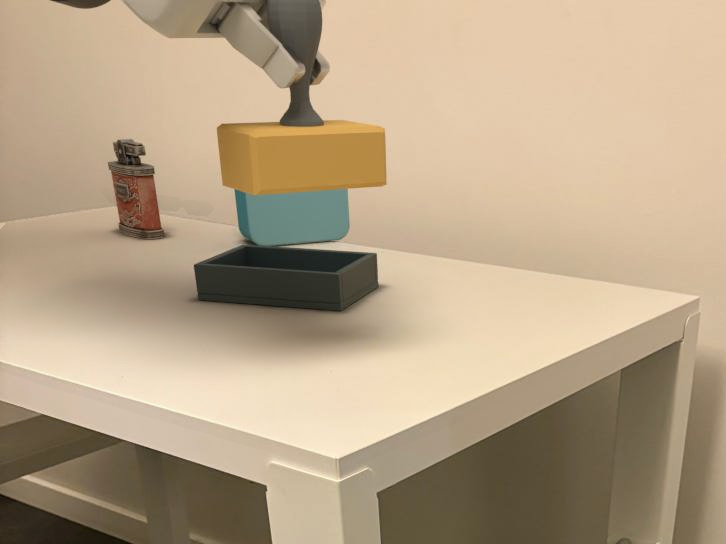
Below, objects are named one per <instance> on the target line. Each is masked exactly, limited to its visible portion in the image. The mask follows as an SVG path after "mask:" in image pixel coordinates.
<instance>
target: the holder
mask: <svg viewBox="0 0 726 544" xmlns="http://www.w3.org/2000/svg"><path fill="white" fill-rule="evenodd" d="M193 271H194V279H195V285H196V292H197V299H198V301H205V302H207V301H208V302H218V303H219V302H220V303H221V302H222V303H232V304H236V303H237V304H246V305H258V306H260V305H261V306H272V307H284V308H285V307H286V308H297V309H308V310H309V309H312V310H324V311H334V312H335V311H337V312H341V311H343V310H344V309H346V308H348V307H349V306H351V305H352V304H354V303H355V302H357V301H359V300H360V299H361V298H363V297H365V296H366V295H368V294H370V293H371V292H372V291H374V290H376V289H377V288H378V287H379V268H378V253H377V252H365V251H349V250H337V249H334V250H333V249H321V248H320V249H319V248H304V247H287V246H259V245H257V244H256V245H255V244H241V245H238V246H236V247H233V248H231V249H229V250H226V251H223V252H221V253H218V254H216V255H213V256H211V257H209V258H206V259H204V260H202V261H198V262H197V263H193Z"/></svg>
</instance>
